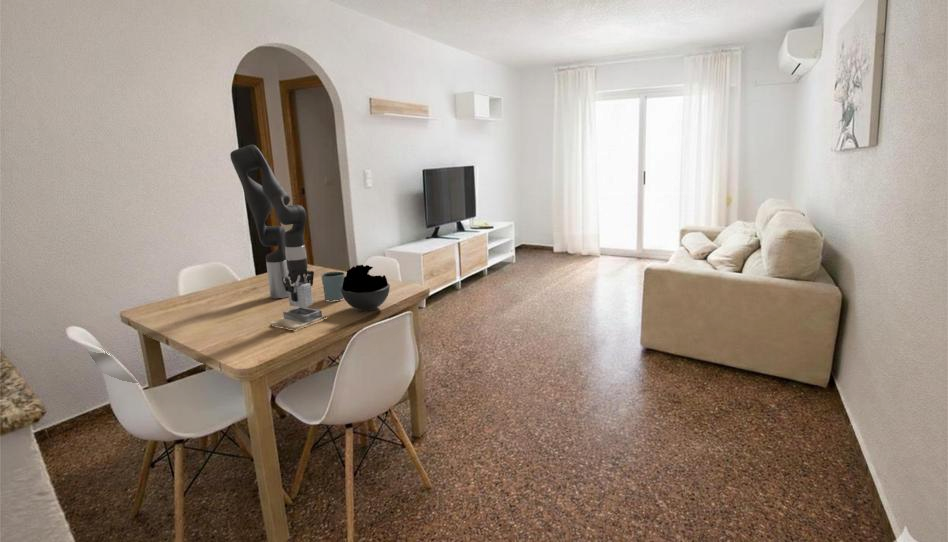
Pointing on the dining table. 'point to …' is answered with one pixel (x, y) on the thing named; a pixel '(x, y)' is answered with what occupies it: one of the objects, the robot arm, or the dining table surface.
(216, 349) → the dining table surface
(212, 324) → the dining table surface
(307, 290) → the medicine box
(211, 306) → the dining table surface
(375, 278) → the coal bowl
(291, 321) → the jig
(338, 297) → the teal cup
